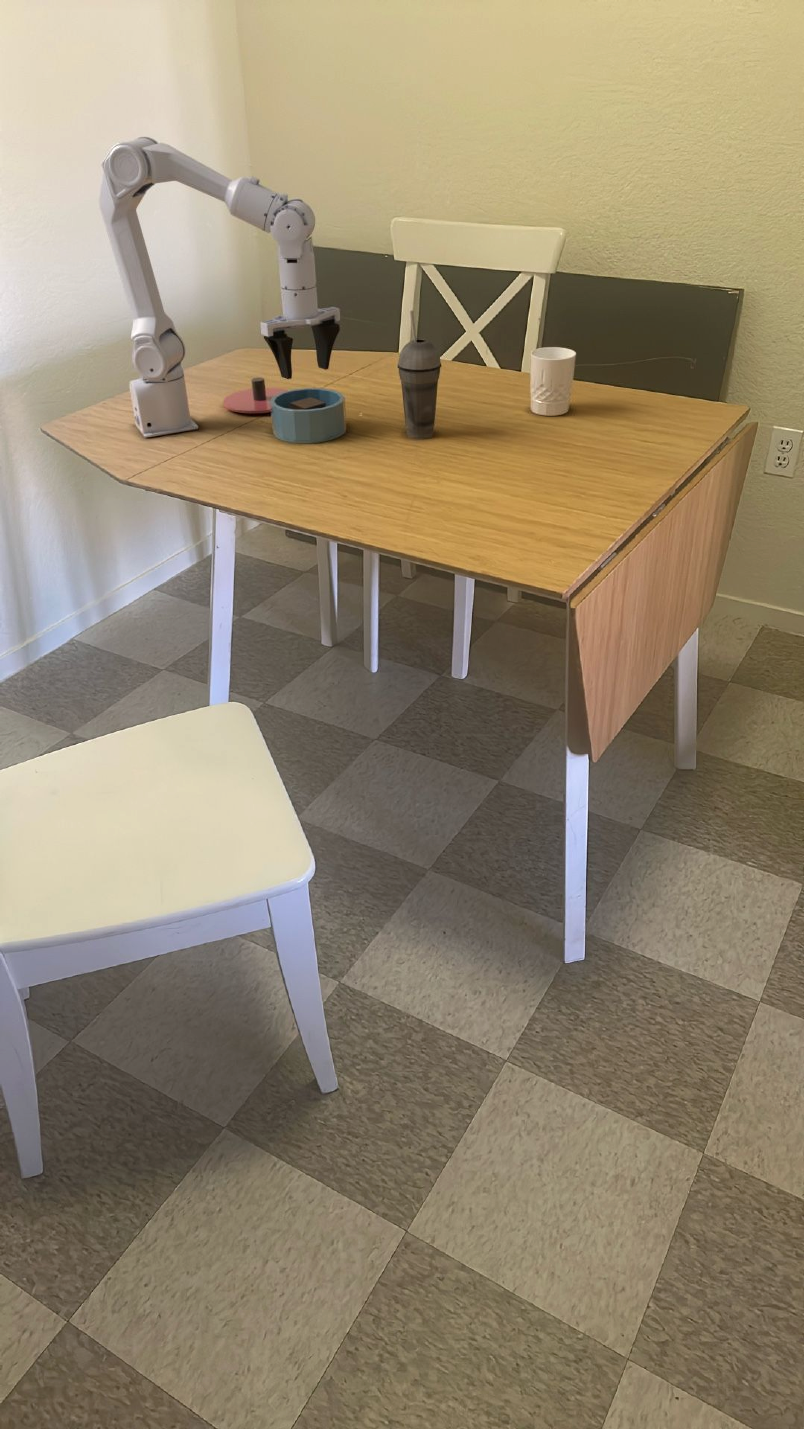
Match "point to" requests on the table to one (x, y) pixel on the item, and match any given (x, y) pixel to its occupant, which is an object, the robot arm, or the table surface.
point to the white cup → (551, 380)
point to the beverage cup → (419, 385)
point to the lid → (252, 398)
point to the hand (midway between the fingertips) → (305, 372)
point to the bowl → (308, 416)
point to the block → (307, 404)
